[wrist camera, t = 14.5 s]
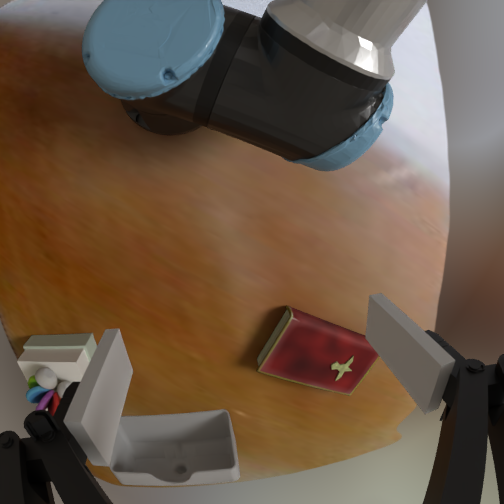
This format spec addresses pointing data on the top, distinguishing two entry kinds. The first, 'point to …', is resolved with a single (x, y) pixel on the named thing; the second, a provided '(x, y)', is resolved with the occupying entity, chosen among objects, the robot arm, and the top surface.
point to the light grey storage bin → (175, 449)
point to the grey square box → (58, 356)
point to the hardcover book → (316, 353)
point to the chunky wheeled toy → (45, 390)
